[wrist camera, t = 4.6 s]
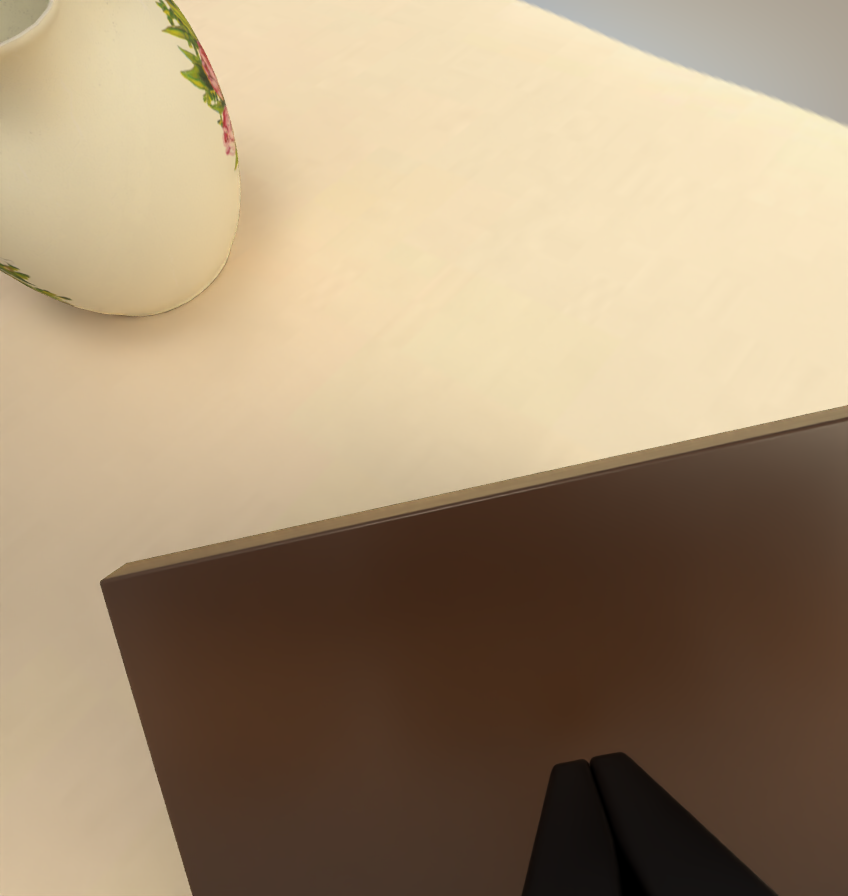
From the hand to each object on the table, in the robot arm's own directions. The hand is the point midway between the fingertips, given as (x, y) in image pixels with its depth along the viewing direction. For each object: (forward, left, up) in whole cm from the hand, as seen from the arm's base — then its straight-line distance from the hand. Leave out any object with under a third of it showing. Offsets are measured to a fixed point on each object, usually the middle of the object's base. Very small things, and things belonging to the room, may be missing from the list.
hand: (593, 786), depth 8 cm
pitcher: (+26, -11, -13) cm, 31 cm away
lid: (-1, +1, -3) cm, 3 cm away
